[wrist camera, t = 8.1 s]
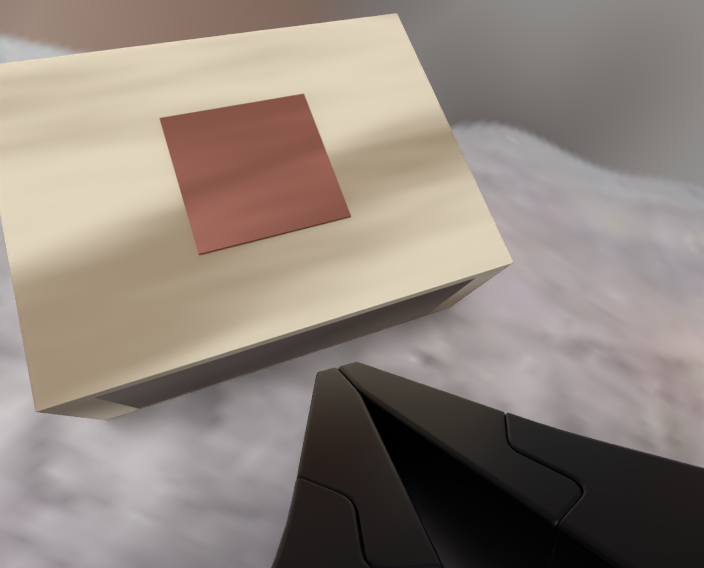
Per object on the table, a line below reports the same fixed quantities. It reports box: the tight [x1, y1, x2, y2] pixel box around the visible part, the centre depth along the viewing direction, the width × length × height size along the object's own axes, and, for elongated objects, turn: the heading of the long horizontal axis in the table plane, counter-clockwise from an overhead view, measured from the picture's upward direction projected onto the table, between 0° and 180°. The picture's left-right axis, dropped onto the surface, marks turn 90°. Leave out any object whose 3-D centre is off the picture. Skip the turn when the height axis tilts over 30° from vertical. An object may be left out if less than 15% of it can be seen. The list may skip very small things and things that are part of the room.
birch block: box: [0, 14, 513, 420], centre depth 15 cm, size 5×12×9 cm
